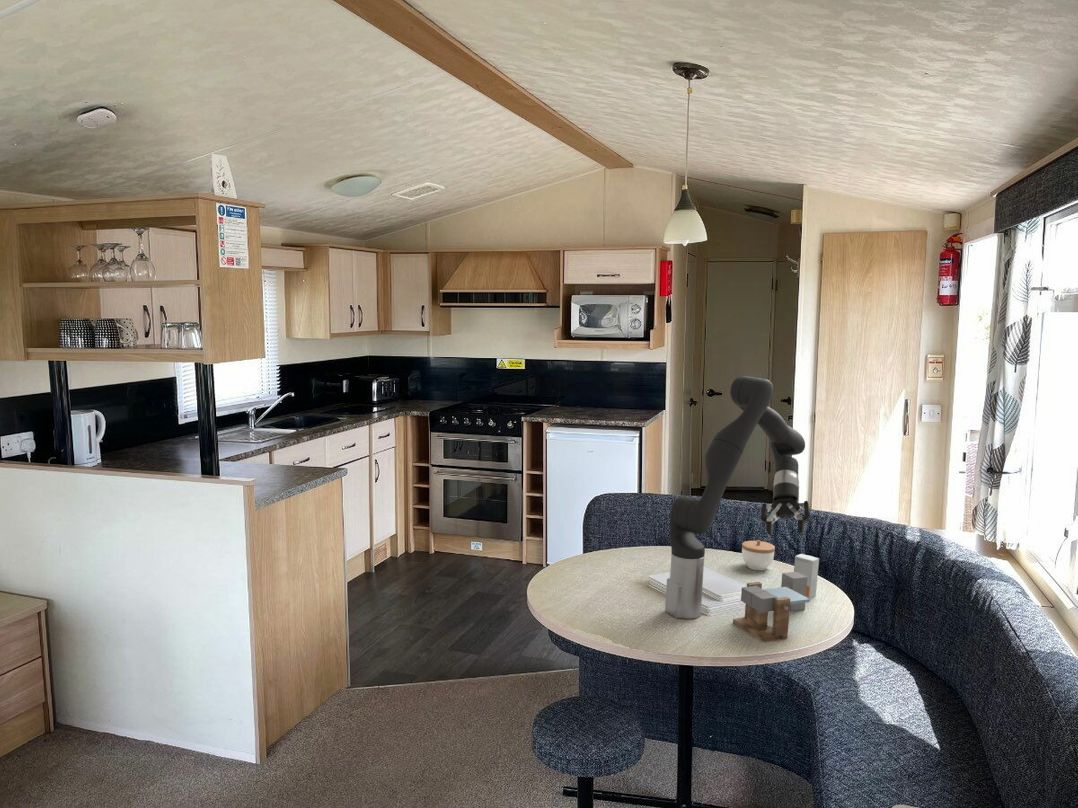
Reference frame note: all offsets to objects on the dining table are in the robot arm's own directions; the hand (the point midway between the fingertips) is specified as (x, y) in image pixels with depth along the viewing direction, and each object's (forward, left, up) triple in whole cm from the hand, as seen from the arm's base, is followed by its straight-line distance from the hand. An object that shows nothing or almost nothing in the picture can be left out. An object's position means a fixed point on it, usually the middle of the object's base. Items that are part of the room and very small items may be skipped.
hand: (784, 533), depth 243 cm
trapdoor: (-17, -18, -13) cm, 28 cm away
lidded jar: (+12, +27, -21) cm, 36 cm away
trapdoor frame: (-21, -18, -20) cm, 34 cm away
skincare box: (+10, +1, -21) cm, 23 cm away
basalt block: (-1, -7, -20) cm, 21 cm away
